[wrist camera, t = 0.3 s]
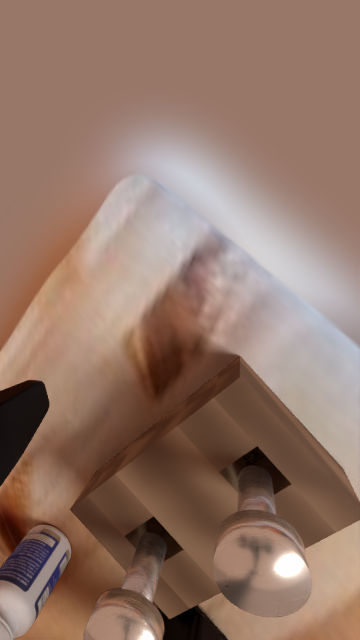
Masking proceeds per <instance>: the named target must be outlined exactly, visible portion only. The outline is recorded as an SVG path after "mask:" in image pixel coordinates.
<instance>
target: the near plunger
mask: <svg viewBox="0 0 360 640" xmlns="http://www.w3.org/2000/svg"><path fill="white" fill-rule="evenodd" d="M213 575H214V579H215V582H216V584H217V586H218V588H219V589H220V591H221V592H222V594H223V595H224V596H225V597H226V598H227V599H228V600H229V601H230V602H231V603H233V604H234V605H235V606H237V607H239V608H240V609H242V610H244V611H246V612H249V613H251V614H254V615H258V616H263V617H282V616H286V615H290V614H292V613H294V612H296V611H298V610H299V609H301V608H302V607H303V606H304V605H305V604H306V602H307V601H308V599H309V597H310V594H311V590H312V581H311V575H310V571H309V566H308V562H307V557H306V553H305V548H304V545H303V541H302V539H301V537H300V535H299V534H298V532H297V531H296V530H295V528H294V527H293V526H292V525H291V524H290V523H288V522H287V521H286V520H284V519H283V518H281V517H279V516H277V515H276V507H275V500H274V493H273V486H272V479H271V476H270V474H269V473H268V472H267V471H266V470H265V469H264V468H262V467H260V466H255V465H250V466H246V467H244V468H243V469H242V470H241V471H240V472H239V475H238V505H237V512H236V513H233V514H231V515H229V516H228V517H227V518H225V519H224V520H223V521H222V523H221V524H220V525H219V527H218V530H217V533H216V539H215V550H214V560H213Z"/></svg>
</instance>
